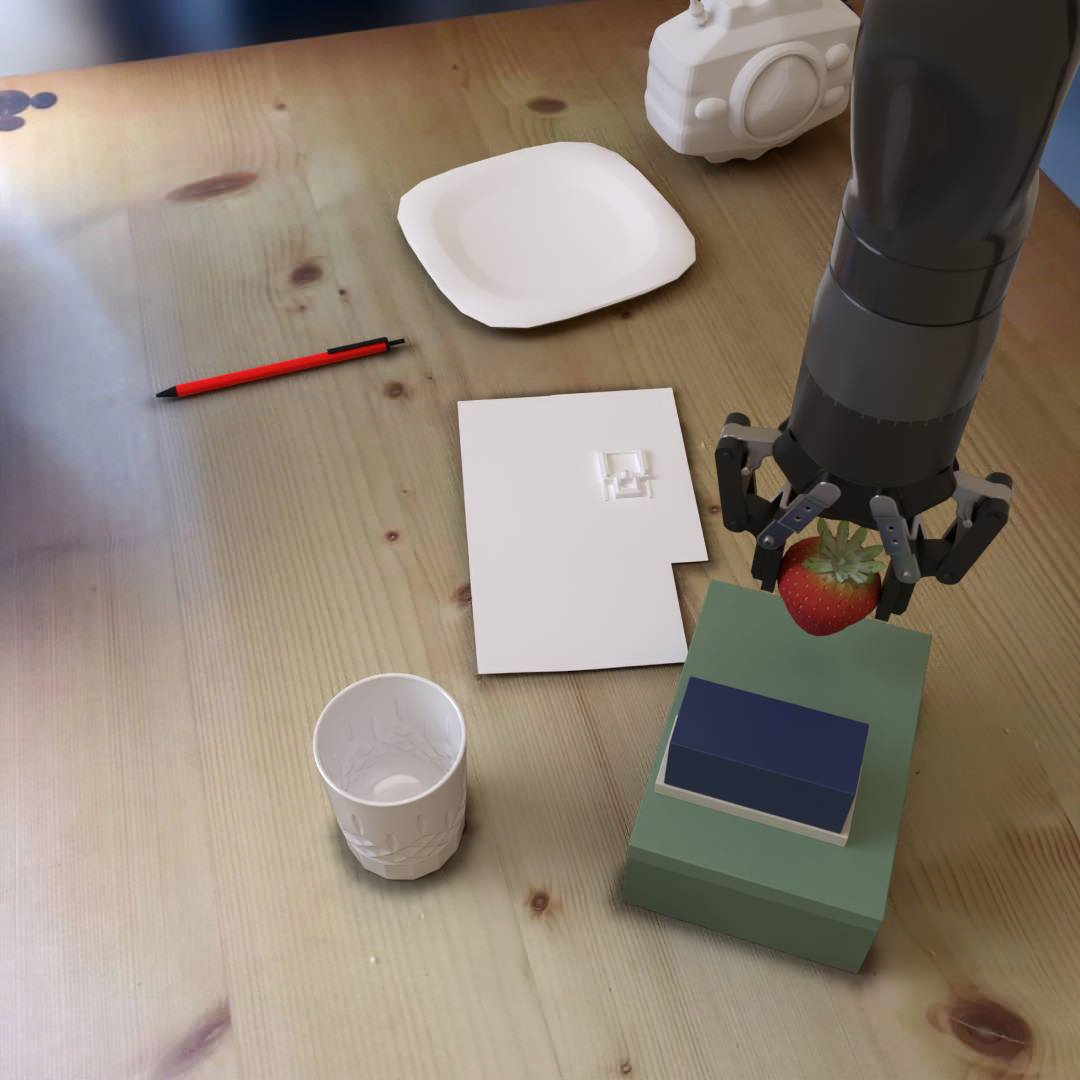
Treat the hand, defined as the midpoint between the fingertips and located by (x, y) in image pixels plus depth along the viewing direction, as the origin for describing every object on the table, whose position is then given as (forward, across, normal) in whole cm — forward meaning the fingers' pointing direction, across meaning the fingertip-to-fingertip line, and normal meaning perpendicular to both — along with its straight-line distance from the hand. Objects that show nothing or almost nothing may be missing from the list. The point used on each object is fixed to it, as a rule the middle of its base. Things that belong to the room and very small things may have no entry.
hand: (826, 592), depth 68 cm
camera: (+14, -15, +58) cm, 61 cm away
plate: (+14, -28, +40) cm, 51 cm away
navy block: (+6, -1, -8) cm, 11 cm away
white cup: (+14, -20, -13) cm, 27 cm away
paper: (+13, -16, +12) cm, 24 cm away
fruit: (+4, 0, 0) cm, 4 cm away
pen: (+14, -42, +19) cm, 48 cm away
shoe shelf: (+13, 0, -5) cm, 14 cm away
